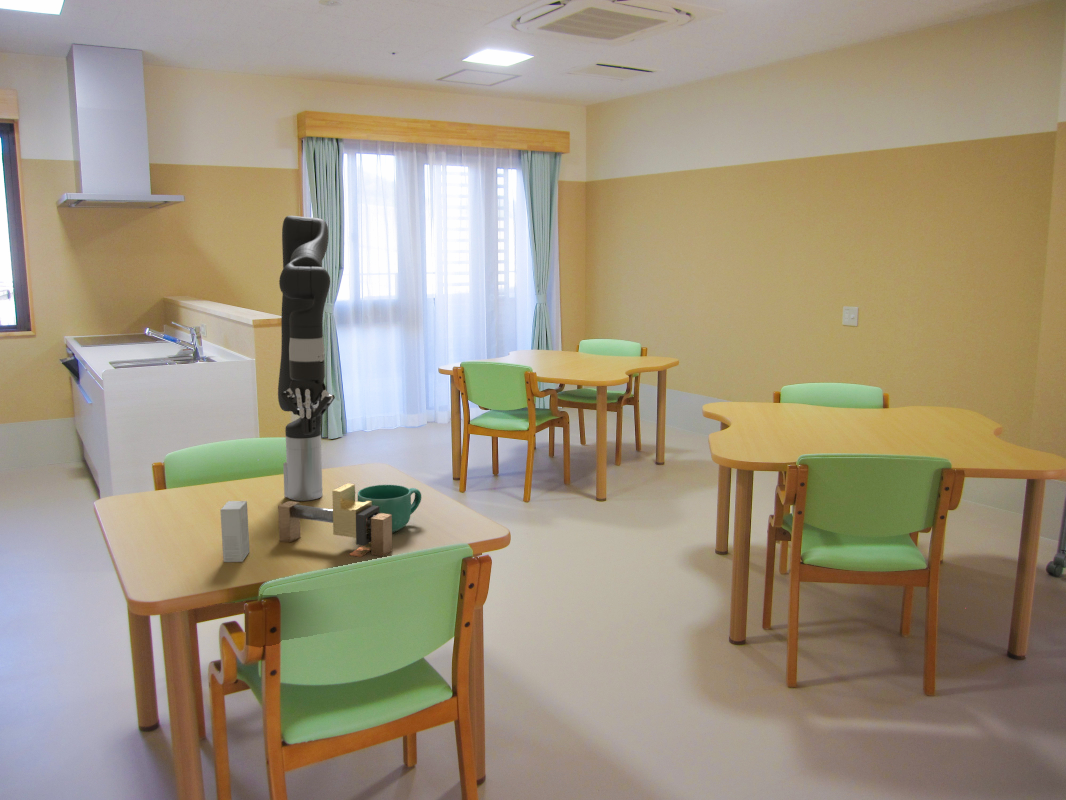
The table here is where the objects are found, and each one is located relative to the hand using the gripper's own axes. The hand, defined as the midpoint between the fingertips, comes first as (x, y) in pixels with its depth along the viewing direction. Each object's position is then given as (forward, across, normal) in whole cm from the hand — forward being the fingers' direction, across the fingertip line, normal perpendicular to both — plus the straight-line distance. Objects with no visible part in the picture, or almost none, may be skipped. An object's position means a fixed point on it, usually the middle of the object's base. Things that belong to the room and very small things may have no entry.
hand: (308, 433), depth 183 cm
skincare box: (+26, -10, -14) cm, 31 cm away
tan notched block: (+22, +11, 0) cm, 24 cm away
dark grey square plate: (+23, +15, 0) cm, 27 cm away
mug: (+26, +12, +16) cm, 33 cm away
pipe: (+26, +6, 0) cm, 26 cm away
